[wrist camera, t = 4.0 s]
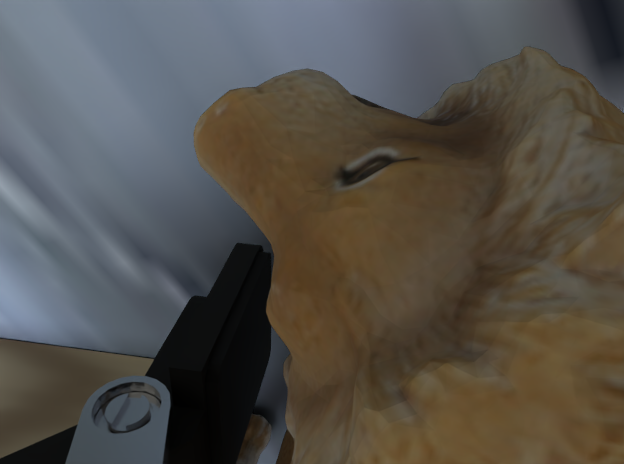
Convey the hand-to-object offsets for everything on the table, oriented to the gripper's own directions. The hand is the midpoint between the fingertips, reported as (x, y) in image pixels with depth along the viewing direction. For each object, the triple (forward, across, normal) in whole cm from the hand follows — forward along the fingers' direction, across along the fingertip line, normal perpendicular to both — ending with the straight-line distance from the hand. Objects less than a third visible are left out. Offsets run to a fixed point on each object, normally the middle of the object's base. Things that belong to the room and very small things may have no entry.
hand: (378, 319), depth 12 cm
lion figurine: (+1, +1, 0) cm, 2 cm away
